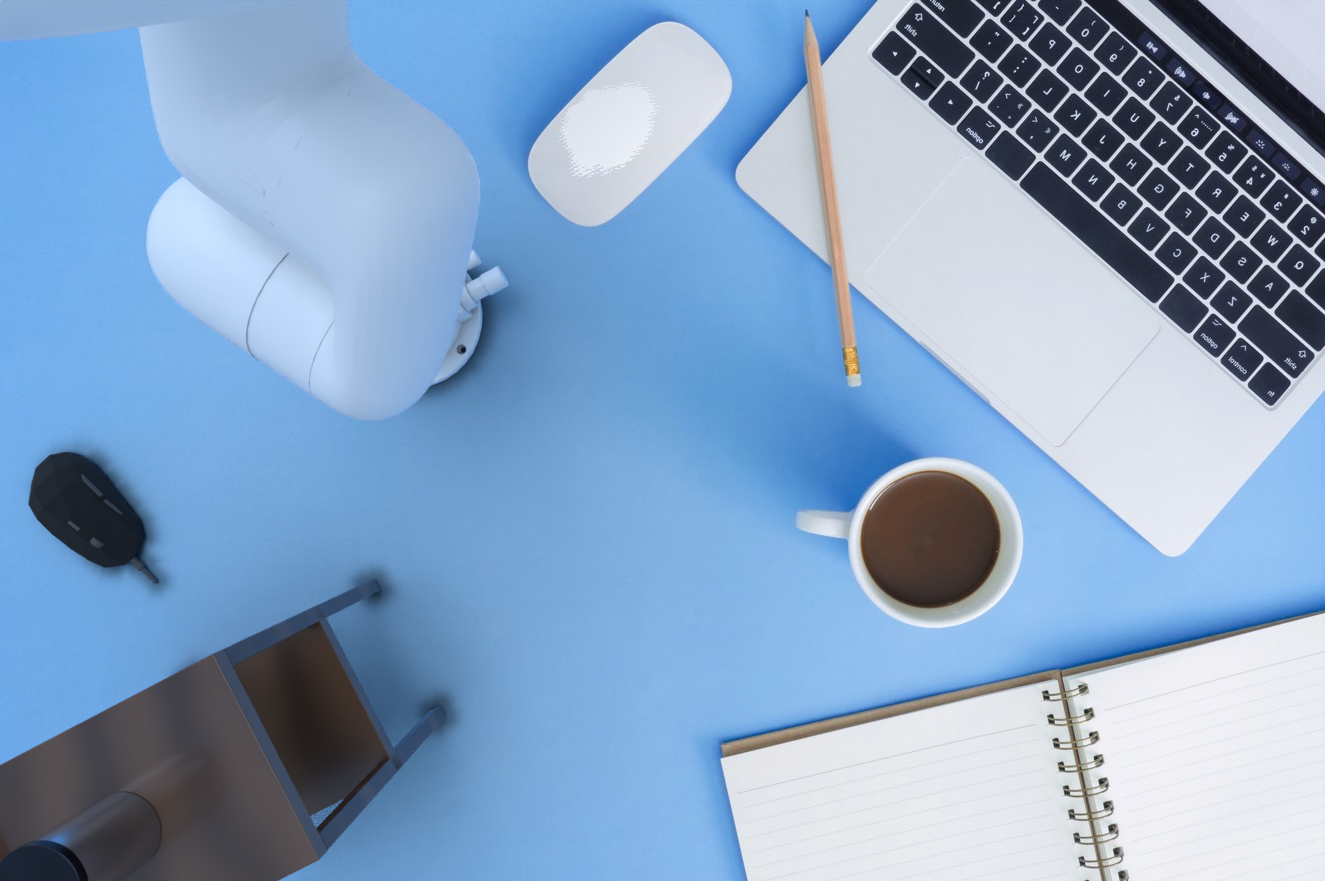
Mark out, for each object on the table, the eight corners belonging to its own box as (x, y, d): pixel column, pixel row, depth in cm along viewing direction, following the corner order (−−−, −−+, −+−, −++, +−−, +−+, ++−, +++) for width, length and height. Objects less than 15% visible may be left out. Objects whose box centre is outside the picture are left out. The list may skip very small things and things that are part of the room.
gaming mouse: (132, 604, 80) (102, 614, 76) (26, 483, 80) (-10, 486, 76) (182, 559, 80) (154, 566, 76) (75, 437, 80) (42, 438, 76)
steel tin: (139, 776, 53) (54, 829, 46) (177, 849, 53) (97, 913, 46) (69, 812, 54) (-26, 870, 47) (107, 885, 54) (17, 954, 47)
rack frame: (375, 577, 79) (223, 648, 54) (446, 716, 79) (328, 850, 54) (184, 677, 80) (-50, 791, 55) (254, 814, 80) (52, 989, 55)
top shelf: (223, 648, 54) (193, 662, 51) (328, 850, 54) (304, 877, 51) (-50, 791, 55) (-96, 813, 52) (52, 989, 55) (12, 1024, 52)
